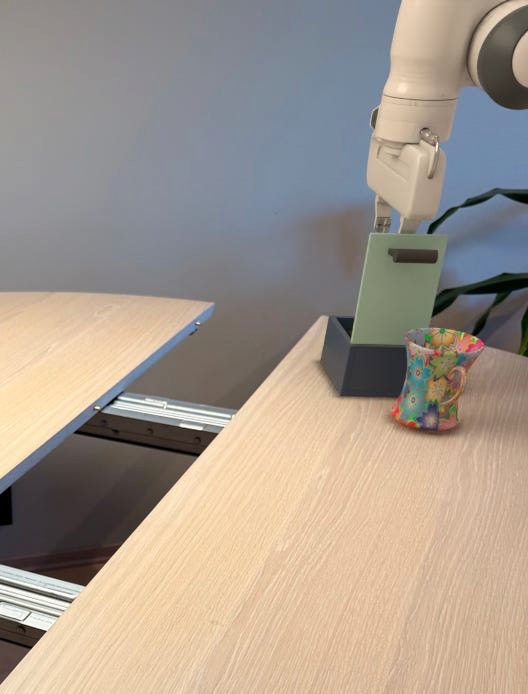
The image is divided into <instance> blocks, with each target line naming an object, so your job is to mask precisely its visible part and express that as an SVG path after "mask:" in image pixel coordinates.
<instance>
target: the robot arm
mask: <svg viewBox="0 0 528 694" xmlns="http://www.w3.org/2000/svg"><path fill="white" fill-rule="evenodd" d="M389 55H390V56H389V57H390V68H389V74H388V77H387V80H386V82H385V84H384V87H383V88H382V89H383V90H382V94H381V99H380V103H379V105H377V106H376V107H374V108H373V109H372V111H371V115H370V119H369V127H370V129H372V130H373V131H372V133H371V137H370V142H369V149H368V156H367V157H368V158H367V165H366V185H367V187H368V188H369V189H370V190H372V191H373V192H374V193H375V194H376V195H375V199H374V209H375V211H374V212H375V213H374V214H375V215H374V216H375V217H374V223H373V230H374V231H376V233H389V232H390V230H391V225H392V221H393V219H392V217H391V216H392V208H393V209H394V210H395V211H396V212H398V213H399V214H400V218H399V223H400V225H399V228H398V232H397V233H400V234H416V233H417V230H418V229H419V227H420V224H421V221H432V220H434V219H435V217H436V216H437V213H438V211H439V208H440V203H441V199H442V193H443V188H444V182H445V175H446V168H447V155H446V152H445V151H444V150H443V149H442V147H441V146H440V143H441V144H442V143H445V142H447V141H449V140H450V137H451V133H452V130H453V129H452V128H453V124H454V120H455V116H456V110H457V107H458V102H459V97H460V92H461V91H462V89H464V88H466V87H476V88H477V89H479V90H480V91H482V92H483V93H485V94H487V96H488V97H489V98H490V99H491V100H492V101H493V102H494V103H495V104H496V105H498V106H500V107H502V108H505V109H508V110H514V111H524V110H525V111H526V110H528V0H401V3H400V6H399V9H398V13H397V17H396V22H395V26H394V30H393V35H392V40H391V46H390V53H389Z"/></svg>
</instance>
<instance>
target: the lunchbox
mask: <svg viewBox="0 0 528 694" xmlns="http://www.w3.org/2000/svg"><path fill="white" fill-rule="evenodd" d="M354 320H355V315H330V314H329V315H328V318H327V323H326V329H325V334H324V340H323V344H322V349H321V350H322V351H321V354H320V361H319V363H320V365H321V367H322V368H323V370H324V371H325V373H326V375H327V376H328V378H329V380H330V381H331V383H332V384H333V386H334V387H335V389H336V391H337V393H338V394H339V396H340V397H371V398H373V397H377V398H399V396H400V394H401V392H402V389H403V386H404V383H405V379H406V373H407V349H406V345H358V344H356V345H355V344H352V343H351V338H350V337H349V335H348V331H353V325H354Z"/></svg>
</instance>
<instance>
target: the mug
mask: <svg viewBox="0 0 528 694" xmlns="http://www.w3.org/2000/svg"><path fill="white" fill-rule="evenodd" d="M405 343H406V349H407V373H406V379H405V383H404V386H403V389H402V392H401V394H400V396H399V397H397V399H396V400H395V402H394V403H393V404H392V405H391V407H390V410H389V411H390V415H391V417H392V418H393V419H394V420H395V421H397V423H400V424H402V425H404V426H405V427H408V428H412V429H416V430H420V431H427V432H428V431H429V432H438V431H439V432H441V431H446V430H450V429H453V428H455V427H457V425H459V423H460V421H461V417H460V414H459V399H460V397H462V395H463V394H464V392H465V391H466V388H467V385H468V378H469V377H468V373H469V371H470V369H471V368H472V366H473V364H474V363H475V362H476V360H477V359H478V358H479V357H480V355H481V354H482V353H483V351H484V350H485V343H484V342H483V340H482V339H480V338H478V337H477V336H474V335H472V334H469V333H467V332H464V331H460V330H455V329H449V328H440V327H429V328H419V329H414V330H411V331H409V332H407V333H406V335H405Z"/></svg>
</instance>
